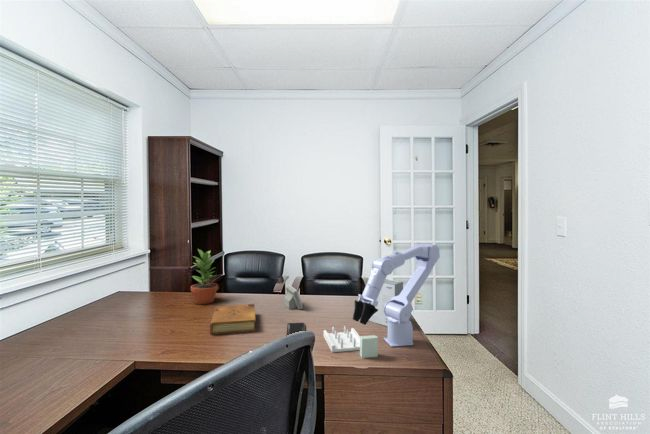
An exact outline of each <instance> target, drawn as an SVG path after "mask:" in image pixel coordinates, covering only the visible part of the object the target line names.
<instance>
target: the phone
mask: <svg viewBox="0 0 650 434" xmlns="http://www.w3.org/2000/svg"><path fill="white" fill-rule="evenodd" d="M286 325H287V327H286V336H287V335H289V334H292V333H295V332H299V331H305V332H306V324H305V322H289V323H287V324H286Z"/></svg>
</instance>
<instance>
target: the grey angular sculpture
mask: <svg viewBox="0 0 650 434" xmlns="http://www.w3.org/2000/svg"><path fill="white" fill-rule="evenodd" d="M284 288H285V291H286V295H285V296H283V297H284V298H283V302H284V303H283V305H284V306H285V308H287V309H288V310H295V309H297V310H302V309H304V306H303V302H302V300H301V297H300V293H299V291H298V290H297V289H296V288H295V287H293V286H292V285H290V284H286V285H285V287H284Z"/></svg>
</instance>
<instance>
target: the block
mask: <svg viewBox="0 0 650 434" xmlns="http://www.w3.org/2000/svg"><path fill="white" fill-rule="evenodd" d="M359 336H360V350H359V357H360V358H361V359H365V358H377V357H378V356H379V355H378V353H379V351H378V350H379V337H378V336H377V335H376V334H373V335H372V334H371V335H359ZM378 358H379V357H378Z"/></svg>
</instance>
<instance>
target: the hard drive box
mask: <svg viewBox="0 0 650 434" xmlns="http://www.w3.org/2000/svg"><path fill="white" fill-rule="evenodd" d="M368 280H369V278H368V279H367V280H366V281H367V282H368ZM367 282H366V283H367ZM403 288H404V281H401V280H393V279H389V278H386V279H385V281H384V284H383V286H382V289H381V291H380V293H379V296H378V298H377V300H376V301H378V305H377V307H375V308H376V309H378V311H377V312H376V313H375V314H373V315H372V317H371V318H370V319H369V321H368V322H372V323H373V324H374V323H375V324H379V325H382V326H385V327H388V319H387V316H386V315H385V314H384V306H385V304H386V303H387V302H388V301H390V300H391V298H392V297H395V296H398V295H399V294H400V293H401V291H402V290H403ZM368 303H370V302H368Z"/></svg>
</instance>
